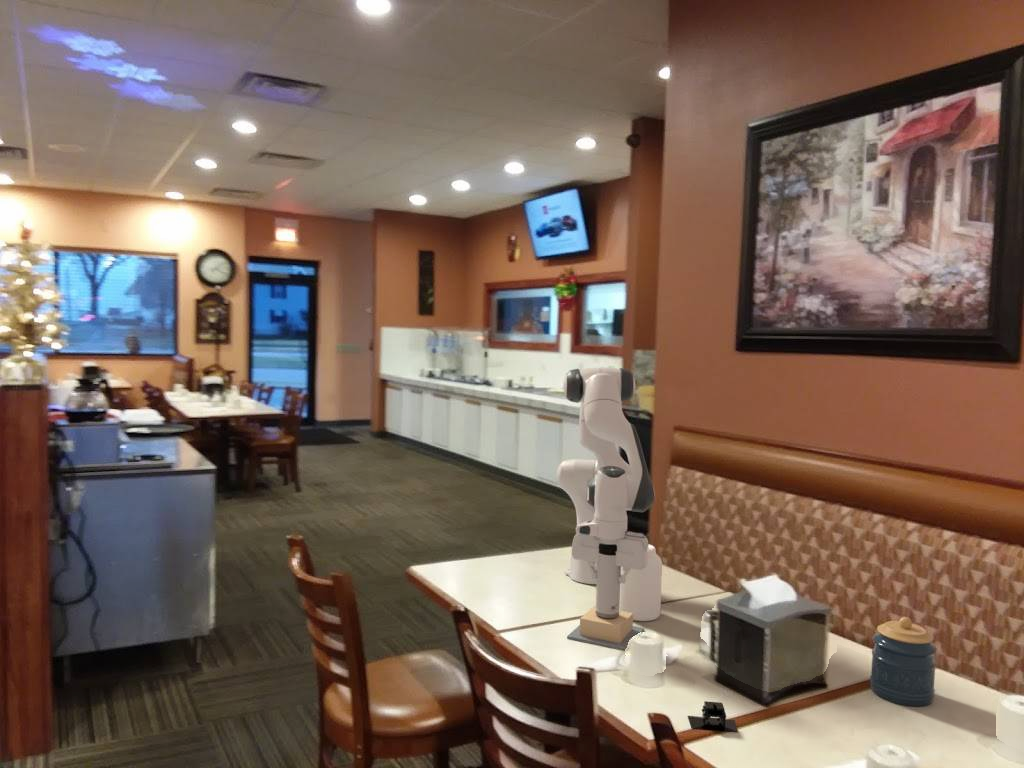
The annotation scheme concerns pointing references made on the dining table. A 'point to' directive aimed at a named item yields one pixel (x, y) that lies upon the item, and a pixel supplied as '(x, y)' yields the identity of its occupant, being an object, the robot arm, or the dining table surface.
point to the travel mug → (607, 582)
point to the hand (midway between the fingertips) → (608, 580)
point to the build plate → (713, 719)
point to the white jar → (643, 589)
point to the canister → (903, 663)
